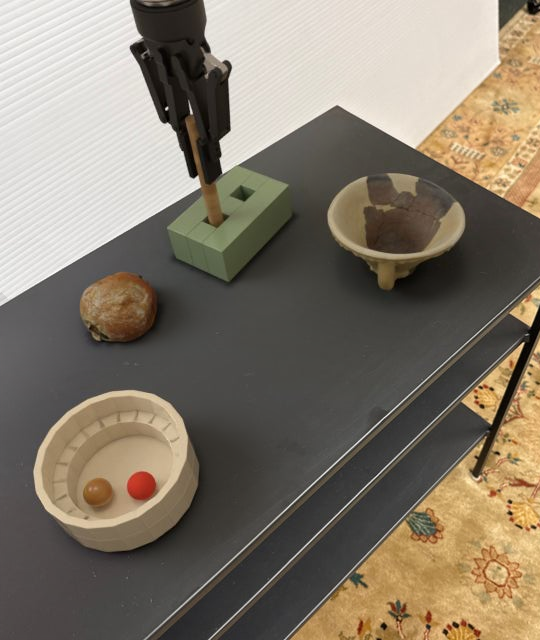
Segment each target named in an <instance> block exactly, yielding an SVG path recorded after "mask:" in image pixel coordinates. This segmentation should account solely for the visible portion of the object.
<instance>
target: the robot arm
mask: <svg viewBox="0 0 540 640" xmlns="http://www.w3.org/2000/svg"><path fill="white" fill-rule="evenodd" d="M129 5H130V9H131V13H132V16H133V21H134V24H135V27H136V28H135V29H136V31H137V33H138V35H140V36H141V38H140V39H138V40H137V41H135V42H133V43H132V44H130V45H129V51H130V53H131V54H132V56H133V57H134V59H135V61H136V63H137V64H138V66H139V69H140V71H141V74H142V77H143V79H144V82H145V84H146V87H147V90H148V93H149V96H150V97H151V101H152V103H153V106H154V108H155V111H156V113H157V116H158V119H159V121H160V123H162V124H164V125H167V124H169V125H170V126H171V129H172V130H173V131H174V132H175V134H176V138H177V142H178V146H179V149H180V150H181V152H182V153H183V156H184V161H185V164H186V168H187V173H188V177H189V178H191V179H193V180H195V179H196V178H197V177H198V172H197V168H196V164H195V160H194V155H193V151H192V147H191V143H190V138H189V134H188V130H187V126H186V122H185V118H186V117H187V116H188V115H191V114H193V116H194V119H195V123H196V126H197V129H198V133H199V136H200V138H198V139H197V140H196V145H197V149H198V154H199V158H200V162H201V167H202V171H203V175H204V180H205V183H206V184H208V185H211V184H212V183H213V182H214V181H215V182H216V180H217V179H219V178H220V177H221V176H222V175H223V168H222V164H221V158H222V156H223V152H222V148H221V143H220V141H221V140H222V139H223V138H225V137H226V136H227V135H228V134H229V133H230V132H231V129H232V127H231V104H230V84H229V78H230V76H231V73H232V70H233V64H232V63H231V62H230V60H228V59H224V60H223V61H220V60H219V59H217V58H216V56H214V55H213V54H212V49H211V46H210V44H209V42H208V41H207V38H206V34H205V32H206V26H207V22H208V19H207V18H208V17H207V11H206V6H205V1H204V0H129ZM166 108H167V109H166ZM191 112H192V113H191Z"/></svg>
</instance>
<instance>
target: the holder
mask: <svg viewBox="0 0 540 640" xmlns="http://www.w3.org/2000/svg"><path fill="white" fill-rule="evenodd" d="M215 183H216V187H217V192H218V197H219V201H220V206H221V211H222V216H223V220H224V222H223V223H222V224H221V225H220V226H219V227H218V228H216V227H214V226H212V225H210V223H209V219H208V215H207V210H206V206H205V202H204V198H203V194H202V195H201V196H200V197H199V198H198V199H197V200H196V201H195V202H193V203H192V204H191V205H190V206H189V207H188V208H187V209H185V210H184V211H183V212H182V213H181V214H180V215H179V216H178V217H176V219H174V221H173V222H171V223H170V224H169V225H168V226H167V227H166V230H167V233H168V236H169V239H170V243H171V246H172V249H173V253H174V256H175V258H176V259H177V260H180V261H182V262H184V263H186V264H188V265H190V266H192V267H195V268H197V269H199V270H202V271H203V272H206V273H207V274H210V275H212V276H214V277H216V278H218V279H221V280H223V281H225V282H227V283H230V282H231V281H232V280H233V279H234V278H235V277H236V275H238V274H239V273H240V271H242V269H243V268H244V267H245V266H246V265H247V264H248V263H249V262H250V261H251V260H252V259H253V258H254V256H256V255H257V253H259V252H260V251H261V249H262V248H263V247H264V246H265V245H266V244H267V243H268V242H269V241H270V240H271V239H272V238H273V237H274V236H275V235H276V234H277V233H278V232H279V231H280V229H281V228H282V227H283V226H284V225H285V224H286V223H287V222H288V221H289V220H290V219H291V218H292V217H293V209H292V201H291V191H290V184H288V183H285V182H283V181H279V180H277V179H274V178H272V177H269V176H267V175H264V174H261V173H258V172H256V171H253V170H250V169H248V168H245V167H242V166H239V165H237V164H236V165H235V166H233V167H232V168H231V169H230V170H229V171H228V172H226V173H225V175H223V176H222V177H221V178H220V179H219V180H218V181H217V182H215Z"/></svg>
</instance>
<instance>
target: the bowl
mask: <svg viewBox="0 0 540 640" xmlns="http://www.w3.org/2000/svg"><path fill="white" fill-rule="evenodd" d="M326 214H327V224H328V227H329V231H330V232H331V235H332V237H333V238H334V240H335V242H337V243H338V244H339V246H340V247H341V248H343V249H344V250H346V251H349V252H351V253H352V254H353V255H354V256H355V257H357V258H358V257H359V258H361V259H362V260H364V261H365V262H366V264H367V265H368V266H369V270H370V271H372V272H374V273H375V274H377V284H378V287H379V288H380V289H381V290H383V291H390V290H392V289H393V288H394V286H395V283H396V282H395V281H396V280H397V279H402V278H403V279H404V278H406V277H408V276H410V275H412V274H413V273H414V271H415V270H416V269H417V267H418V265H420V264H421V263H423V262H425V261H427V260H429V259H433V258H437V257H439V256H442V255H443V254H444V253H445V252H449V251H450V250H451V248H453V247H454V246H455V245H456V244H457V242H458V241H459V240H460V239H461V237H462V236H463V234H464V231H465V229H466V215H465V211H464V209H463V207H462V205H461V204H460V202H459V201H458V200H457V199H456V198H455V197H454V196H453V195H452V194H451V193H450V192H449V191H447V190H446V189H444V188H443V187H442V186H440V185H439V184H436V183H434V182H432V181H431V180H428V179H425V178H422V177H417V176H414V175H410V174H405V173H395V172H394V173H392V172H390V173H389V172H386V173H377V174H371V175H365V176H363V177H360V178H358V179H356V180H354V181H352V182H350V183H349V184H347V185H346V186H344V187H343V188H342V189H341V190H340V191H339V192H338V193H337V194H336V195H335V197H334V198H333V199H332V201H331V203H330V205H329V208H328V209H327V213H326Z"/></svg>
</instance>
